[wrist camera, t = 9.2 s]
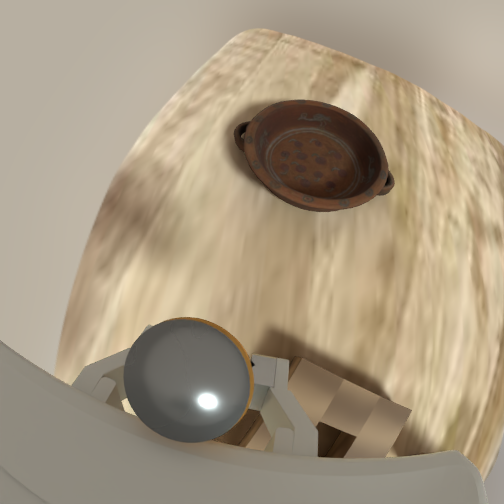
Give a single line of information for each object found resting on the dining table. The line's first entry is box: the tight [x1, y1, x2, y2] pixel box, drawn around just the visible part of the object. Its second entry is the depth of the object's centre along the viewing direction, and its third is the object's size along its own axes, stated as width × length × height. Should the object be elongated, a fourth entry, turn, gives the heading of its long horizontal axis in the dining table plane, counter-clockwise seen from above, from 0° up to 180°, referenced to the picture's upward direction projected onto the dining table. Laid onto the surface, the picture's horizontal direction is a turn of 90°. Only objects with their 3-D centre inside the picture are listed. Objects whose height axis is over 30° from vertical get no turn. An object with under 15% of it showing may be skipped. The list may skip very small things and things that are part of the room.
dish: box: [234, 100, 394, 212], centre depth 34 cm, size 18×22×5 cm
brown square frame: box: [238, 356, 412, 458], centre depth 24 cm, size 14×14×4 cm
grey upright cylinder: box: [123, 317, 254, 443], centre depth 11 cm, size 3×3×12 cm
